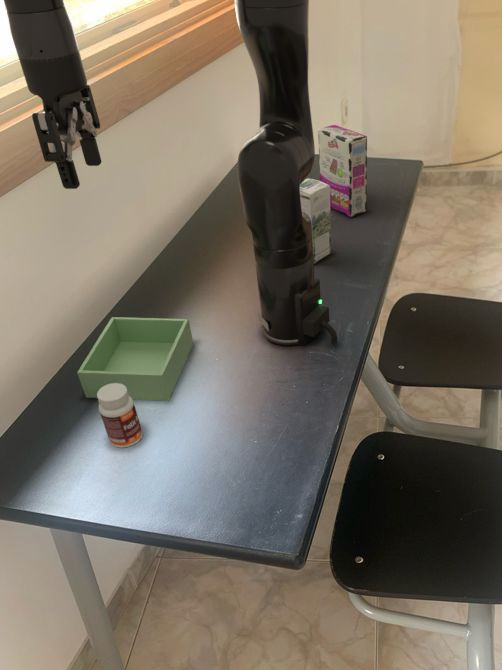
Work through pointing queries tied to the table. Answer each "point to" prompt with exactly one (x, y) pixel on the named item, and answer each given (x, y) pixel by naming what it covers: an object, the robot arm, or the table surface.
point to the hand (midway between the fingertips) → (83, 175)
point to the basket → (138, 357)
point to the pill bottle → (119, 415)
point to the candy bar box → (344, 168)
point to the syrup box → (317, 215)
